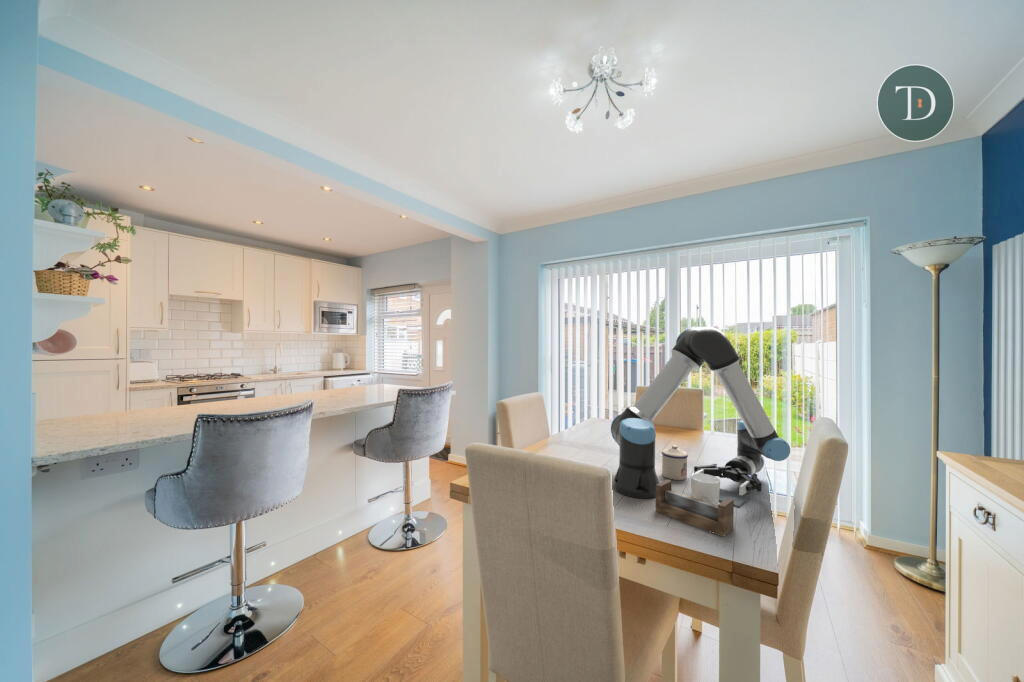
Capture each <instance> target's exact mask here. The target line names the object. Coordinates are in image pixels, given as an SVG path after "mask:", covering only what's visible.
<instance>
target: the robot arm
mask: <svg viewBox="0 0 1024 682" xmlns="http://www.w3.org/2000/svg"><path fill="white" fill-rule="evenodd" d="M739 362H740V357H739V354H738V353H737V351H736V349H735V348H734V346H733V344H732V342H731V341H730V340H729V338H728V336H726V334H725V333H724V332H722V331H721V330H719V328H715V327H712V326H704V327H702V326H700V327H690V328H688V329H684V330H683V331H681V333H680V334H678V336H677V337H676V341H675V345H674V346H673V348H672V349H671V357H670V359H668V361H667V362H666V364H665V365H664V366H663V367H662V369H661V370H660V371H659V373H657V375H656V376H655V377H654V379H653V380H652V382H650V384H649V385H648V387H647V388H646V389H645V391H644V392H643V393H642V394H641V395H640V397H639V398H638V400H636V402H635V404H633V405H631V406H627V407H626V408H625V409H624V410H623V412H622V413H621V414H618V415H617V416H616V417H614V418H613V420H612V421H611V424H610V434H611V436H612V439H613V440H614V442H615V443H616V444H617V445H618V446H619V464H618V468H617V471H616V474H615V476H614V479H613V488H614V490H615V489H616V490H617V492H618V493H619V492H620V494H622V495H625V496H628V497H632V498H637V499H651V498H656V485H657V484H659V483H660V482H659V479H658V475H657V472H656V468H655V467H656V437H657V433H656V427H655V425H654V420H655V418H656V417H657V416H658V414H659V413H660V412H661V410H662V409H663V408H664V407H665V405H666V404H667V403H668V402H669V401H670V399H671V398H672V397H673V396H674V394H675V393H676V391H677V390H678V389H679V388H680V387H681V385H682V384H683V382H684V381H685V380H686V379H687V377H688V376H689V375H690V374H691V372H692V371H694V370H698V369H700V368H701V367H702V365H703V364H705V363H706V364H707V366H708V368H709V370H710V371H711V372H715V374H716V376H717V379H718V380H719V381H720V383H721V386H722V387H723V389H724V390H725V392H726V394H727V396H728V398H729V400H730V401H731V403H732V405H733V407H734V408H735V410H736V412H737V414H738V416H739V418H740V419H741V420H739V421H738V423H737V429H736V431H737V436H736V437H737V439H736V440H737V449H736V450H737V451H736V452H737V456H736V457H734V458H732V459H731V460H729V461H727V462H726V464H725V465H724V466H718V464H717V463H712V464H704V465H695V466H693V470H694V471H693V472H694V473H693V474H708V475H712V476H715V477H719V479H725V478H726V479H730V480H731V481H732V482H736V483H739V484H740V485H739V493H738V494H739V495H744V496H745V494H746V493H747V492H752V491H755V490H756V491H757V492H762V488H763V487H762V486H763V484H762V481H760V479H759V478H758V473H759V472H761V470H762V469H763V468H764V465H765V460H764V457H765V458H766V459H770V460H772V461H775V462H782V461H785V460H787V459H788V458H789V456H790V454H791V447H790V444H789V443H788V442H787V441H786V440H784V439H783V438H782V437H780V436H779V435H778V433H777V431H776V429H775V427H774V426H773V424H772V422H771V420H770V418H769V416H768V415H767V412H766V411H765V410H764V407H763V405H762V403H761V401H759V399H758V397H757V395H756V393H755V391H754V389H753V388H752V386H751V384H750V382H749V380H748V378H747V377H746V374H745V373H744V370H743V369H742V367H741V364H739ZM763 456H764V457H763ZM616 490H615V491H616Z"/></svg>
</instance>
